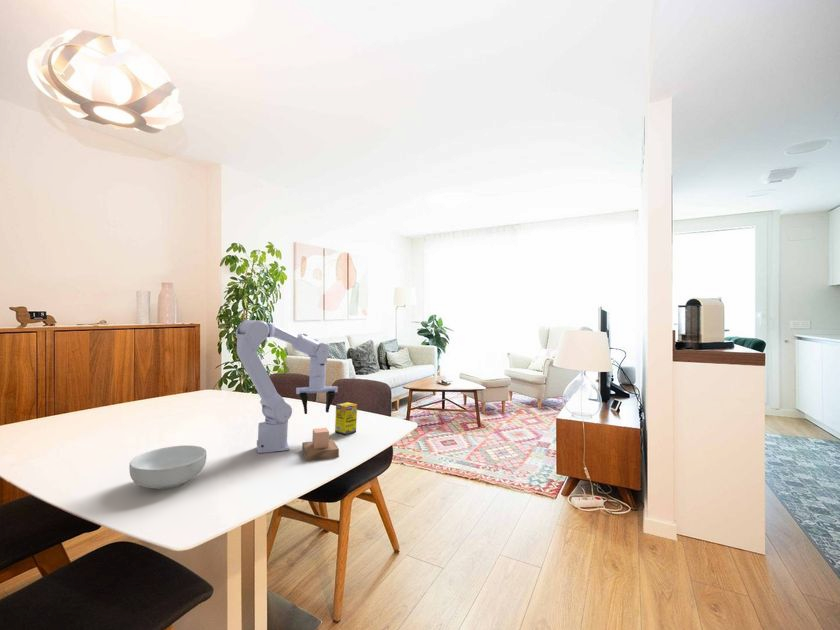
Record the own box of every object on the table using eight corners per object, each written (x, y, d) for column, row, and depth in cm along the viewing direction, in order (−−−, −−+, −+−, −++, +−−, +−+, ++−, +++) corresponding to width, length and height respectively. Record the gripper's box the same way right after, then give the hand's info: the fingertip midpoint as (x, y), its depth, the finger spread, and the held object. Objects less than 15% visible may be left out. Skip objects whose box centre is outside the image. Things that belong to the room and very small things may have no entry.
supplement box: (345, 435, 142) (345, 406, 142) (334, 432, 145) (335, 404, 145) (356, 432, 146) (357, 404, 147) (346, 429, 150) (347, 401, 150)
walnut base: (306, 460, 116) (306, 452, 116) (302, 450, 125) (302, 442, 125) (338, 456, 120) (338, 448, 120) (332, 446, 129) (332, 439, 129)
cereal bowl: (123, 481, 98) (124, 454, 98) (195, 465, 110) (196, 441, 110) (134, 505, 86) (135, 474, 86) (213, 484, 98) (215, 457, 98)
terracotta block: (314, 448, 119) (314, 432, 119) (312, 444, 124) (312, 428, 124) (328, 447, 121) (329, 431, 121) (326, 442, 125) (326, 427, 125)
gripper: (298, 377, 131) (296, 416, 131) (339, 376, 137) (338, 413, 137) (296, 374, 137) (294, 412, 137) (335, 373, 143) (334, 409, 143)
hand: (316, 412), depth 137 cm, fingers open, 7 cm apart
